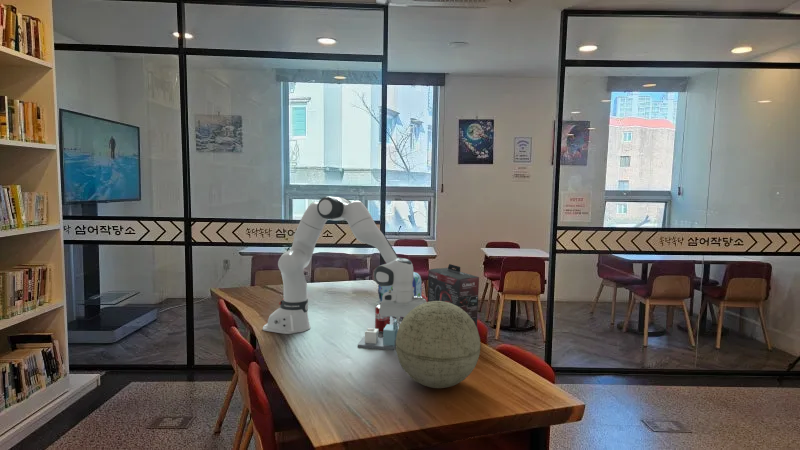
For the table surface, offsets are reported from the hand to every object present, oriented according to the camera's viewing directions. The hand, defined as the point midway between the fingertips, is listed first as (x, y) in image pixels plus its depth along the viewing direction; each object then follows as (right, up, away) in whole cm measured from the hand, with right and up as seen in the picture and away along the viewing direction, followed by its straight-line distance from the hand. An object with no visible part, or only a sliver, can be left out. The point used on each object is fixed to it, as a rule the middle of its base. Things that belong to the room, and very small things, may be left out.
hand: (402, 326), depth 201 cm
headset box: (+24, -8, +19) cm, 31 cm away
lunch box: (-2, -3, +69) cm, 69 cm away
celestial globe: (+12, -13, -36) cm, 41 cm away
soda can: (-9, -7, +22) cm, 25 cm away
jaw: (-13, -7, +3) cm, 16 cm away
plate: (-11, -8, +3) cm, 14 cm away
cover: (-5, -7, +1) cm, 9 cm away
